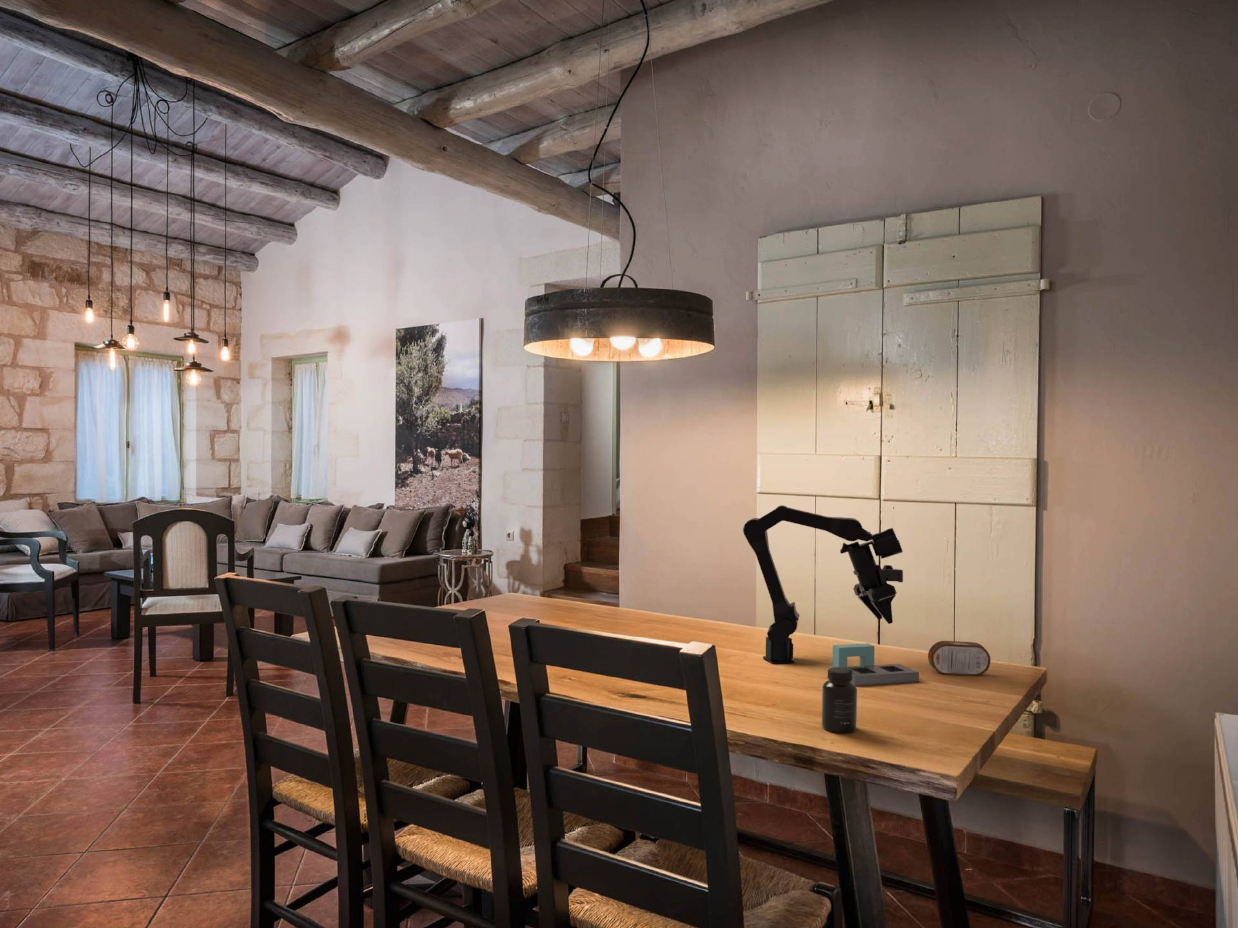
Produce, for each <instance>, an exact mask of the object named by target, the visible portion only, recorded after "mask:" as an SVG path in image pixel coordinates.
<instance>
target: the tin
mask: <svg viewBox="0 0 1238 928" xmlns="http://www.w3.org/2000/svg"><path fill="white" fill-rule="evenodd" d="M927 659H928V660H927V661H928V663H929V665H930V666H931V668H933V669H934V670H935V671H936V672H937V673H939V674H941V675H948V676H965V677H966V676H967V677H968V676H969V677H978V676H981V675H983V674H985V673H986V672H987V671H988V670H989V668H990V666H991V655H990V653H989V652H988V650H987V649H986V648H985V647H984V646H983V644H981V643H978V642H975V641H974V642H973V641H955V640H940V641H937V642H935V643H934V644H933V645H931V647H930V648H929V651H928V654H927Z"/></svg>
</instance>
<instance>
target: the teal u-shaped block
mask: <svg viewBox="0 0 1238 928" xmlns="http://www.w3.org/2000/svg"><path fill="white" fill-rule="evenodd" d="M854 657H859V659H858V661H859V662H858V666H871V665H875V645H873V644H871V643H867V642H866V643H851V644H849V643H847V644H833V645H832V667H848V658H854Z"/></svg>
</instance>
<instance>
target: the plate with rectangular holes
mask: <svg viewBox="0 0 1238 928" xmlns="http://www.w3.org/2000/svg"><path fill="white" fill-rule="evenodd" d="M842 668H847V669H850V670H851V671H852V677H853V680H852V681H851V683H853V684H854V685H855V686H856V687H865V686H866V687H867V686H881V685H883V686H884V685H895V684H896V685H897V684H909V683H910V684H912V683H919V682H920V671H918V670H915V669H913V668H910V667H907V666H905V665H903V664H901V663H892V664H876V665H875V664H874V665H871V666H859V665H858V666H857V665H856V666H847V667H842Z"/></svg>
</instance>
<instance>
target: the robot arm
mask: <svg viewBox="0 0 1238 928" xmlns="http://www.w3.org/2000/svg"><path fill="white" fill-rule="evenodd" d="M781 522H786V523H788V522H789V523H792V524H796V525H800V526H805V527H807V528H808V527H809V528H813V529H816V530H817V529H818V530H821V531H824V532H825V531H826V532H827V533H829V534H832V535H834V536H836V537H838V538H841V539H843V540H845V541H848V542H852V543H846V542H843V543H842V546H841V548H840V550H839V551H840V554H845V553H848V556H849V559H850V562H851V564H852V567H853V569H854V570H853V571H852V573H853V574H854V575H855V576H856V577H857V581H858V583H856V584H855V585H854V586H853V592H854V595H855V596H856V597H857V598H858V599H859V600H860V601H861V602H862V603H863V604H864V606H865V607H866V608H867V609H869V611H870V612H871V614H873V615H874V617H875V618H876V619H877V620H881V619H884V621H885V622H886V623H887V624H888V625H890V624H893V622H894V621H893V610H892V601H893V600H894V598H895V597H896V594H897V590H896V587H895V586H894V585H892V584H889V583H887V582H897V583H903V582H904V571H903V569H898V568H893V565H891V564H884V566H883V567H882V568H881V566H880V565H879V564H877V563H876V560H875V557H880V558H881V559H885V558H889V557H891V556H895V555H899V554H902V553H903V552H904V551H903V549H902V546H901V543H900V540H899V539H898V538H897V535H896V532H895V531H894V530H895V529H894V528H893V527H891V528H890V527H889V528H887V529H885V530H884V531H879V532H877V533H874V534H873V533H871V532H870V531H868V530H866V529H865V528H863V525H862V523H861V522H860V521H859V520H858V519H856V518H853V517H843V516H842V517H841V516H826V515H822V514H818V513H815V512H809V511H804V510H801V509H796V508H792V507H788V506H786V505H782V504H781V505H778V506H777V507H775V509H773V510H770V512H768V513H766V514H765V515H763V516H761V517H760V518H757V517H755V518H750V519H749V520H748V521H747V522H745V524H744V526H743V528H742V532H743V535H744V537H745V539H746V540H747V543H748V544H749V546H750V548H751V550H753V552H754V554H755V557H756V558H757V561H758V562H757V563H758V564H759V568H760V570H761V573H762V576H763V579H764V583H765V585H766V586H765V587H766V589H767V592H768V594H769V596H770V600H771V604H772V611H773V619H774V620H773V621H774V622H773V623H772V624H771V625H769V627H768V630H767V632H766V635H767V636H765V655H763V656H762V659H763V660H765V659H766V660H765V661H768V662H769V663H771V664H773V665H775V664H776V665H778V664H792V663H795V659H794V644H793V638H791V637H790V635H793V634H794V633H795V632H796V631H797V629H798V626H799V625H798V623H799V620H800V613H798V611H797V607H796V602H795V601H793V602H791V603H790V601H789V600H788V598H787V597H786V594H785V590H784V588H783V586H782V585H783V584H782V582H781V579H780V576H779V574H778V570H777V568H776V565H775V562H774V558H773V555H772V553H771V550H770V544H769V534H768V530H769V529H771V528H772V527H775V526H776V525H778V524H779V523H781ZM859 540H860V541H863V543H859ZM870 545H871V546H872V549H873V551H874V554H875V557H874V554H873V552H872V549H871V546H870Z"/></svg>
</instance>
